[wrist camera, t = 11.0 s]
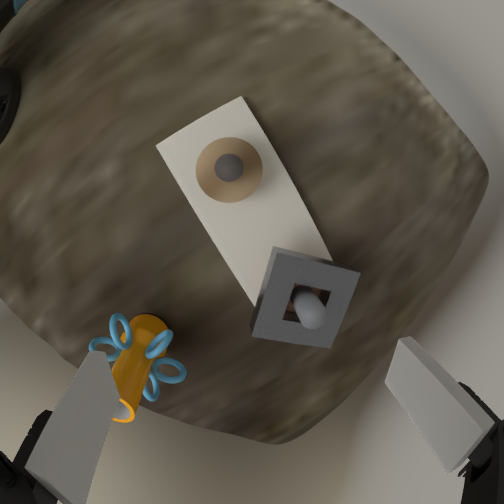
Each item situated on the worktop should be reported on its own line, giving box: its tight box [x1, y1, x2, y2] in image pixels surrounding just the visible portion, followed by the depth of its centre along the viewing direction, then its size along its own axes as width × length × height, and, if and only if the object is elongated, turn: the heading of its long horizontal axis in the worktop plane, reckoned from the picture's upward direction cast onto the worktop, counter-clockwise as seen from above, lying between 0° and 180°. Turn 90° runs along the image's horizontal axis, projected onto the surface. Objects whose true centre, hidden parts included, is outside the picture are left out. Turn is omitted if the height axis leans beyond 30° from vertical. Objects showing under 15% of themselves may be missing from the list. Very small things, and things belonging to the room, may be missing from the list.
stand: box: [196, 137, 263, 203], centre depth 26 cm, size 6×6×8 cm
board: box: [156, 96, 333, 306], centre depth 32 cm, size 28×11×1 cm, turn 30°
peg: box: [286, 283, 328, 329], centre depth 29 cm, size 7×7×9 cm
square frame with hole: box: [250, 246, 361, 348], centre depth 28 cm, size 9×9×2 cm
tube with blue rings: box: [89, 313, 187, 423], centre depth 27 cm, size 12×10×15 cm
